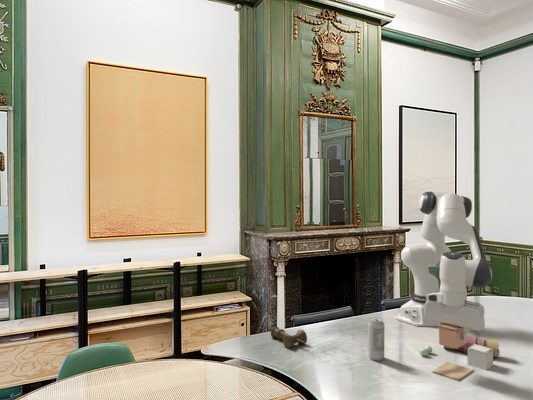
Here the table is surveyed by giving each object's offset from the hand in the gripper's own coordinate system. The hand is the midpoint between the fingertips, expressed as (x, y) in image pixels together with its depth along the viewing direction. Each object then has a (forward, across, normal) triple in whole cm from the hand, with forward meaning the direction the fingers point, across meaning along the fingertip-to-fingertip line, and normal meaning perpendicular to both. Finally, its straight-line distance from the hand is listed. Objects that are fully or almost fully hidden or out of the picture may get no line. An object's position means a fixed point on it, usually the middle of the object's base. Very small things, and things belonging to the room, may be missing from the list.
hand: (453, 337), depth 141 cm
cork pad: (+12, 0, 0) cm, 12 cm away
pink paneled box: (+2, 0, 0) cm, 2 cm away
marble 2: (+12, +14, -10) cm, 21 cm away
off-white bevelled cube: (+12, -4, -14) cm, 19 cm away
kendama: (+13, +60, +24) cm, 65 cm away
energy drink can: (+13, +25, +10) cm, 30 cm away
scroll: (+13, +3, -23) cm, 27 cm away
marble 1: (+12, +14, -6) cm, 20 cm away
